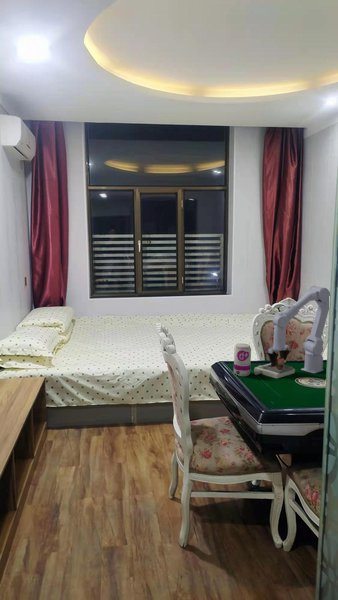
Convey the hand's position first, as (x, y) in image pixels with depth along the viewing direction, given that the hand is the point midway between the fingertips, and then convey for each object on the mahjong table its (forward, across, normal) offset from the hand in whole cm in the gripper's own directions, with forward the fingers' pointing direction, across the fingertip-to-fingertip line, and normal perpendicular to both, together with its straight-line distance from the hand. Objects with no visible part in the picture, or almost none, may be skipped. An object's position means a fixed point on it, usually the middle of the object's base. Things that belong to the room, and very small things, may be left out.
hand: (278, 364), depth 216 cm
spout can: (+2, 0, 0) cm, 2 cm away
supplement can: (+5, -16, +10) cm, 19 cm away
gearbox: (+4, -2, +2) cm, 5 cm away
